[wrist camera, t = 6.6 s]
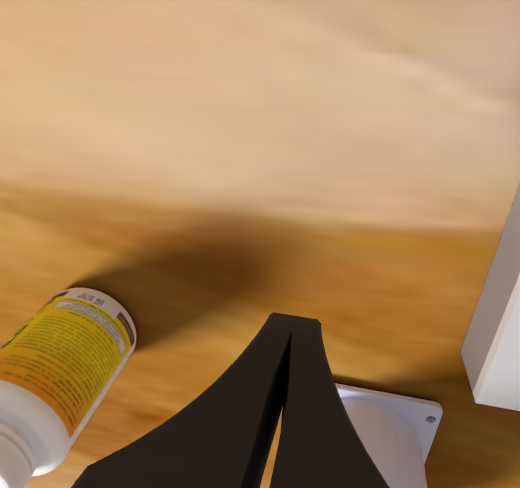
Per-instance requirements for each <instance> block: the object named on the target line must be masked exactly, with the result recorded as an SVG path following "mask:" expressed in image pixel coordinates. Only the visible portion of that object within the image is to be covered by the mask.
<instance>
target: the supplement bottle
mask: <svg viewBox="0 0 520 488" xmlns="http://www.w3.org/2000/svg"><path fill="white" fill-rule="evenodd" d="M135 345H136V329H135V326H134V323H133V321H132V318H131V317H130V315H129V314H128V312H127V311H126V310H125V308H124V307H123V306H122V305H121V304H120V303H118V302H117V301H116V300H115V299H113V298H112V297H110V296H108V295H107V294H105V293H102V292H100V291H97V290H94V289H89V288H70V289H67V290H64V291H62V292H60V293H58V294H57V295H55V296H54V297H53V298H52V299H51V300H50V301H49V302H48V303H47V304H45V305H44V306H43V307H42V308H41V309H40V310H39V311H38V312H37V313H36V314H35V315H34V316H33V317H32V318H31V319H30V320H29V321H28V322H27V323H26V324H25V325H24V326H23V327H22V328H21V329H19V330H18V331H17V332H16V333H15V334H14V335H13V336H12V337H11V338H10V339H9V340H8V341H7V342H6V343H5V344H4V345H3V346H2V347H1V348H0V488H23V486H25V485H26V484H27V482H28V481H29V479H30V477H31V476H38V475H43V474H46V473H48V472H50V471H52V470H54V469H55V468H56V467H58V466H59V465H60V464H61V463H62V461H63V460H64V459H65V457H66V456H67V454H68V453H69V451H70V450H71V448H72V447H73V445H74V444H75V442H76V440H77V439H78V437H79V436H80V434H81V433H82V431H83V430H84V428H85V427H86V425H87V424H88V422H89V421H90V419H91V417H92V416H93V414H94V413H95V411H96V410H97V408H98V407H99V405H100V404H101V402H102V400H103V399H104V397H105V396H106V394H107V393H108V391H109V389H110V388H111V386H112V385H113V383H114V382H115V380H116V378H117V377H118V375H119V374H120V372H121V371H122V369H123V367H124V366H125V364H126V363H127V361H128V360H129V358H130V356H131V355H132V353H133V351H134V348H135Z"/></svg>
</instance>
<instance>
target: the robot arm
mask: <svg viewBox="0 0 520 488" xmlns="http://www.w3.org/2000/svg"><path fill="white" fill-rule="evenodd" d="M282 406H283V410H282ZM281 410H282V423H281V434H280V439H279V444H278V449H277V454H276V459H275V464H274V469H273V474H272V479H271V483H270V488H427V482H426V475H425V468H424V464H425V461H426V459H427V456H428V453H429V450H430V448H431V445H432V442H433V439H434V437H435V434H436V431H437V428H438V425H439V423H440V420H441V417H442V414H443V410H442V407H441V405H440V404H439V403H437V402H434V401H429V400H424V399H418V398H413V397H407V396H402V395H396V394H391V393H386V392H380V391H375V390H369V389H364V388H358V387H353V386H348V385H342V384H337V383H335V382H334V379H333V376H332V373H331V370H330V367H329V364H328V361H327V357H326V353H325V349H324V345H323V340H322V333H321V323H320V322H319V321H318V320H317V319H310V318H304V317H298V316H292V315H286V314H280V313H272V314H271V315H269V317H268V319H267V321H266V322H265V324H264V325H263V327H262V328H261V330H260V331H259V333H258V334H257V335H256V337H255V338H254V339H253V340H252V342H251V343H250V344H249V345H248V347H247V348H246V349H245V350H244V351H243V353H242V354H241V355H240V356H239V357H238V358H237V360H236V361H235V362H234V363H233V364H232V365H231V366H230V367H229V368H228V369H227V370H226V371H225V372H224V373H223V374H222V375H221V376H220V377H219V378H218V379H217V380H216V381H215V382H214V383H213V384H212V385H211V386H210V387H209V388H208V389H206V390H205V391H204V392H203V393H202V394H201V395H200V396H198V397H197V398H196V399H195V400H194V401H192V402H191V403H190V404H188V405H187V406H186V407H185V408H183V409H182V410H181V411H179V412H178V413H177V414H175V415H174V416H173V417H171V418H170V419H169V420H167V421H166V422H164V423H163V424H161V425H160V426H158V427H156V428H155V429H153V430H152V431H150V432H149V433H147V434H145V435H144V436H142V437H141V438H139V439H138V440H136V441H134V442H133V443H131V444H129V445H127V446H126V447H124V448H122V449H120V450H118V451H116V452H114V453H112V454H111V455H109V456H107V457H105V458H103V459H101V460H99V461H97V462H95V463H93V464H91V465H89V466H87V468H86V469H85V470H84V471H83V473H82V474H81V475H80V476H79V478H78V479H77V480H76V482H75V483H74V484H73V486H72V487H71V488H260V484H261V480H262V476H263V473H264V469H265V466H266V462H267V459H268V455H269V452H270V448H271V445H272V441H273V438H274V434H275V431H276V427H277V424H278V420H279V417H280V413H281ZM428 416H433V417H428Z"/></svg>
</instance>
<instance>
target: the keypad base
mask: <svg viewBox="0 0 520 488" xmlns="http://www.w3.org/2000/svg"><path fill="white" fill-rule="evenodd" d="M460 352H461V355H462V359H463V362H464V365H465V369H466V372H467V376H468V379H469V382H470V386H471V389H472V393H473V396H474V399H475V403H478V404H484V405H489V406H495V407H500V408H505V409H511V410H516V411H520V185H519V188H518V191H517V194H516V197H515V199H514V202H513V205H512V208H511V211H510V214H509V216H508V219H507V222H506V225H505V228H504V230H503V233H502V236H501V239H500V242H499V244H498V247H497V250H496V253H495V256H494V259H493V261H492V264H491V267H490V270H489V273H488V275H487V278H486V281H485V284H484V287H483V289H482V292H481V295H480V298H479V301H478V304H477V306H476V309H475V312H474V315H473V318H472V320H471V323H470V326H469V329H468V332H467V334H466V337H465V340H464V343H463V346H462V349H461V351H460Z"/></svg>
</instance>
